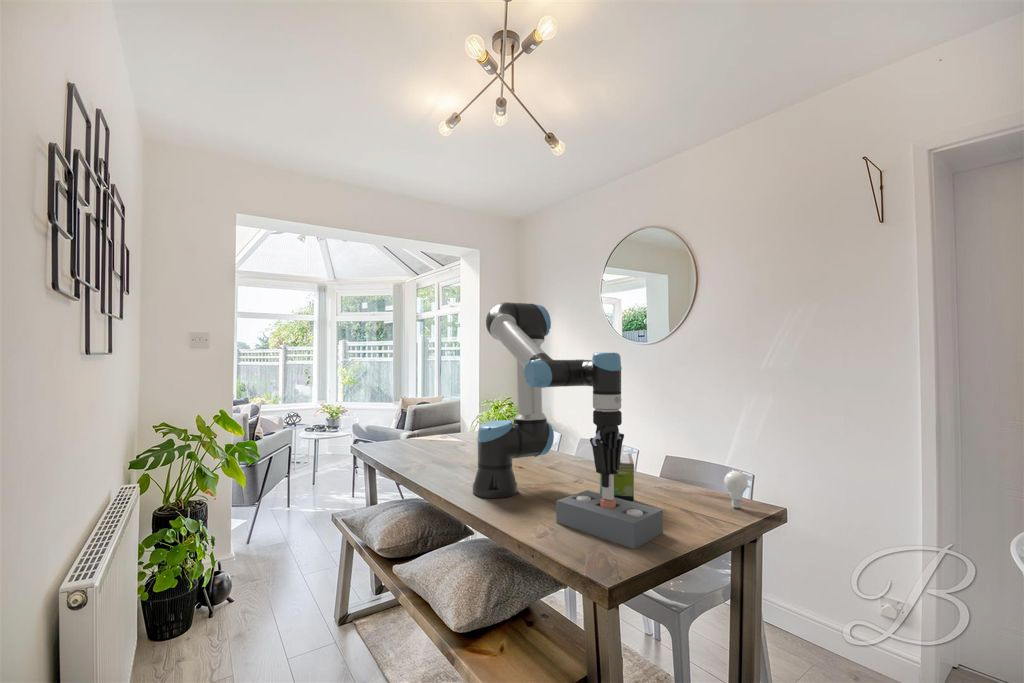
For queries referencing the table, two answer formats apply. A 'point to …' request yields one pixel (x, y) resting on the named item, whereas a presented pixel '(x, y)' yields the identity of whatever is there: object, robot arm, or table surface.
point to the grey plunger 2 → (634, 512)
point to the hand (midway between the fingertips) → (608, 498)
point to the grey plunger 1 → (583, 498)
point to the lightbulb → (736, 487)
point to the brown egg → (607, 503)
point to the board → (610, 519)
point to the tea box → (623, 479)
